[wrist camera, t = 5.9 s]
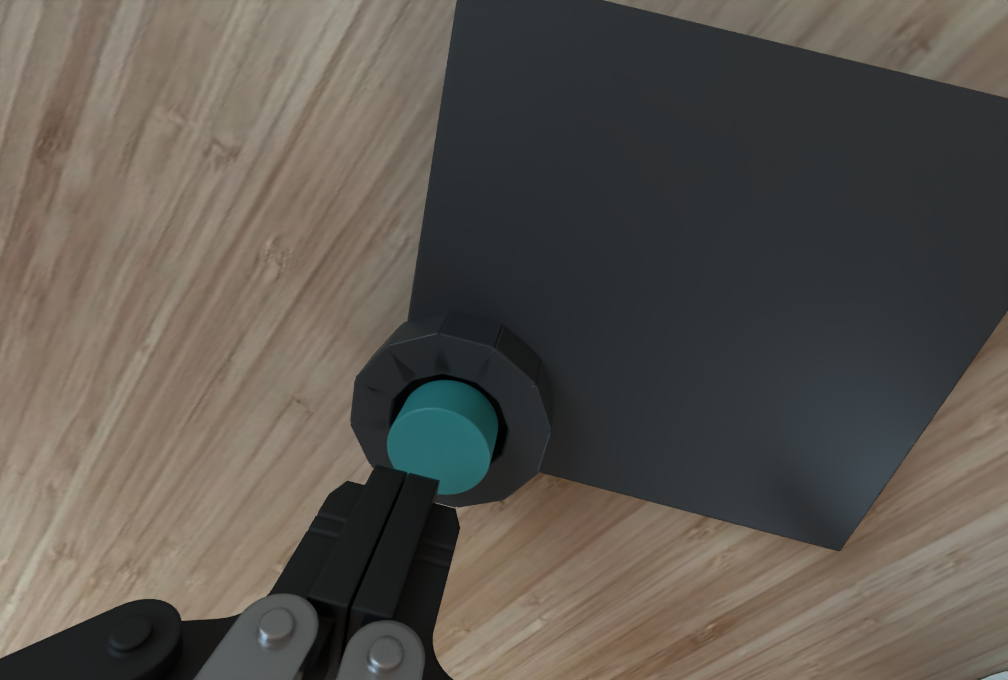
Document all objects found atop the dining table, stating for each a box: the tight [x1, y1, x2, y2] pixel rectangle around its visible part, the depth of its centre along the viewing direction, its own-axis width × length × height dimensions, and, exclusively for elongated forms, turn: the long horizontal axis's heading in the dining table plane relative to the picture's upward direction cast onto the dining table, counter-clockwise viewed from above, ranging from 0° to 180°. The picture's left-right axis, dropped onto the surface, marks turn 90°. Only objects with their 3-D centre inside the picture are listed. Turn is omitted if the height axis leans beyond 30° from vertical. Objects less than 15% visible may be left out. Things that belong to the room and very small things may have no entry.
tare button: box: [387, 380, 498, 495], centre depth 15 cm, size 3×3×2 cm
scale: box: [350, 0, 1008, 551], centre depth 15 cm, size 16×14×4 cm
